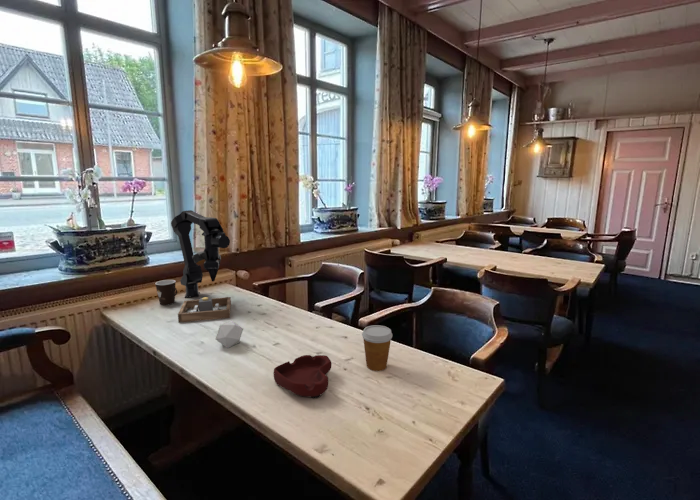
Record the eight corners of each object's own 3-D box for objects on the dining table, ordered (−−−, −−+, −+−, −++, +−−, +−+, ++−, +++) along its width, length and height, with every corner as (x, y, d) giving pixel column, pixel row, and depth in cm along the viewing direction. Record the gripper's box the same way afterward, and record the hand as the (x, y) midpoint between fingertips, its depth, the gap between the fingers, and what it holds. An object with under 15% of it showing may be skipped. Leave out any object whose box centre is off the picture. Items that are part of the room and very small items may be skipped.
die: (245, 348, 133) (249, 321, 138) (224, 344, 127) (228, 315, 131) (230, 351, 138) (234, 324, 142) (209, 347, 131) (213, 319, 136)
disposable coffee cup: (356, 362, 122) (356, 327, 120) (382, 357, 126) (383, 322, 123) (369, 376, 113) (370, 339, 111) (397, 370, 117) (398, 333, 115)
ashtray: (280, 368, 119) (280, 353, 118) (332, 369, 118) (332, 354, 117) (266, 401, 101) (265, 384, 100) (327, 402, 101) (327, 385, 100)
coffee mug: (155, 301, 181) (154, 281, 179) (175, 298, 185) (173, 278, 183) (159, 309, 171) (157, 287, 169) (179, 305, 176) (178, 284, 174)
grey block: (200, 311, 168) (199, 296, 167) (212, 310, 169) (211, 295, 168) (199, 315, 163) (198, 300, 162) (212, 314, 165) (210, 299, 163)
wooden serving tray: (184, 308, 172) (184, 300, 171) (230, 304, 177) (230, 297, 177) (178, 322, 155) (177, 314, 154) (229, 317, 160) (229, 309, 160)
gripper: (195, 243, 180) (197, 275, 183) (189, 250, 162) (192, 285, 165) (219, 242, 183) (221, 273, 186) (217, 249, 165) (219, 283, 168)
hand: (213, 278), depth 176 cm, fingers open, 9 cm apart
